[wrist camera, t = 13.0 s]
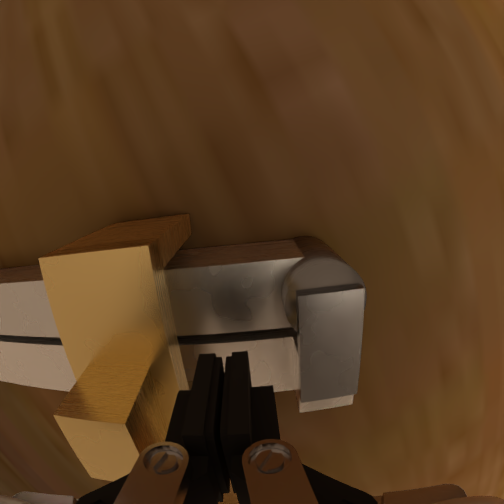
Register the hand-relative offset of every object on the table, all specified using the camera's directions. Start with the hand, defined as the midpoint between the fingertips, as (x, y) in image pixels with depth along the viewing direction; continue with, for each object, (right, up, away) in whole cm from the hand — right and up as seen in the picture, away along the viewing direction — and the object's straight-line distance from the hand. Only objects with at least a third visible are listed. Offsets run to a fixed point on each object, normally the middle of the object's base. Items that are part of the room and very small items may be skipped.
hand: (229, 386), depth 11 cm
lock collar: (-4, +1, +6) cm, 7 cm away
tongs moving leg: (-7, +1, +6) cm, 10 cm away
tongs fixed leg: (-8, +3, +6) cm, 10 cm away
